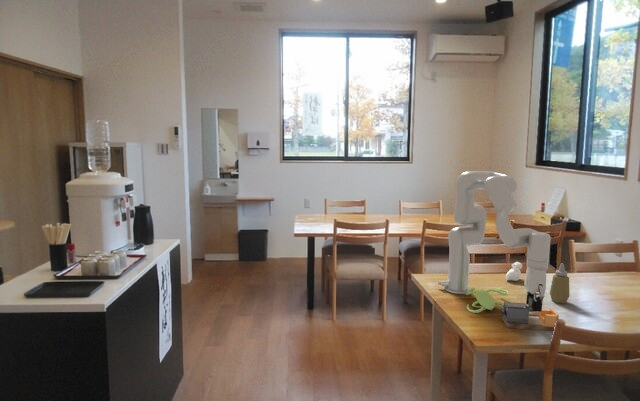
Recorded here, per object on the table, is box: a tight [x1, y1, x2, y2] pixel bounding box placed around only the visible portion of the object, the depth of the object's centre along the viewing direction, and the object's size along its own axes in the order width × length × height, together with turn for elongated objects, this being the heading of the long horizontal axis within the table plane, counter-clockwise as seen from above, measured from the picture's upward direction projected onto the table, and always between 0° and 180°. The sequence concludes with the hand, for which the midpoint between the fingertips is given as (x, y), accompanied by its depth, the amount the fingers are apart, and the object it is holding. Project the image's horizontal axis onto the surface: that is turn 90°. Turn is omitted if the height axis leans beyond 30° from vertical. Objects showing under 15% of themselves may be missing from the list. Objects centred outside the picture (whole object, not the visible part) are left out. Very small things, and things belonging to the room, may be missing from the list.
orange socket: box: [538, 307, 560, 327], centre depth 167 cm, size 4×7×5 cm, turn 172°
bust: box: [505, 261, 523, 282], centre depth 224 cm, size 12×8×11 cm
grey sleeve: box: [502, 301, 530, 324], centre depth 168 cm, size 8×5×7 cm, turn 82°
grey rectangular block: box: [506, 296, 540, 318], centre depth 168 cm, size 12×4×7 cm, turn 82°
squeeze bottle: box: [549, 262, 570, 304], centre depth 193 cm, size 8×8×18 cm
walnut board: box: [501, 315, 555, 332], centre depth 168 cm, size 19×9×1 cm, turn 82°
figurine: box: [465, 287, 509, 314], centre depth 189 cm, size 18×27×6 cm
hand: (533, 307), depth 167 cm, fingers open, 6 cm apart
